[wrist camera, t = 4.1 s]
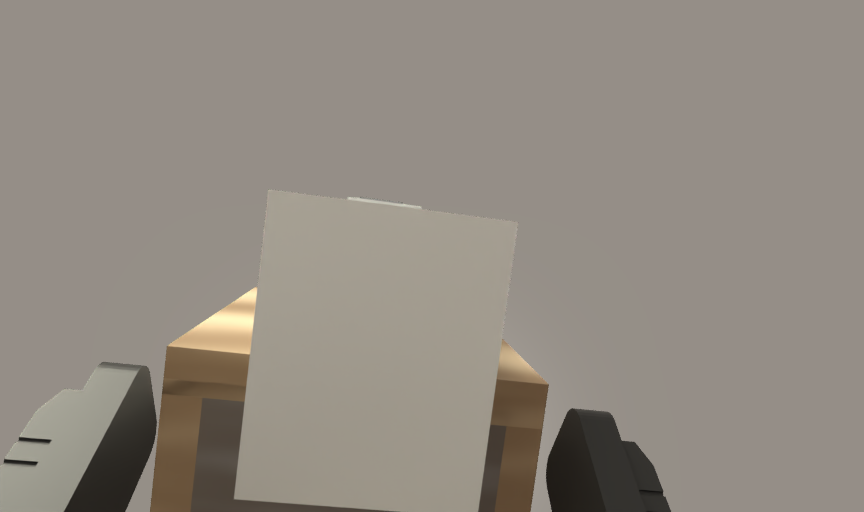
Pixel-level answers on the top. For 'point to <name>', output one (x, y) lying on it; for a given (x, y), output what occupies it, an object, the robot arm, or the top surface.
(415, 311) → the white long block
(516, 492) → the step shelf
